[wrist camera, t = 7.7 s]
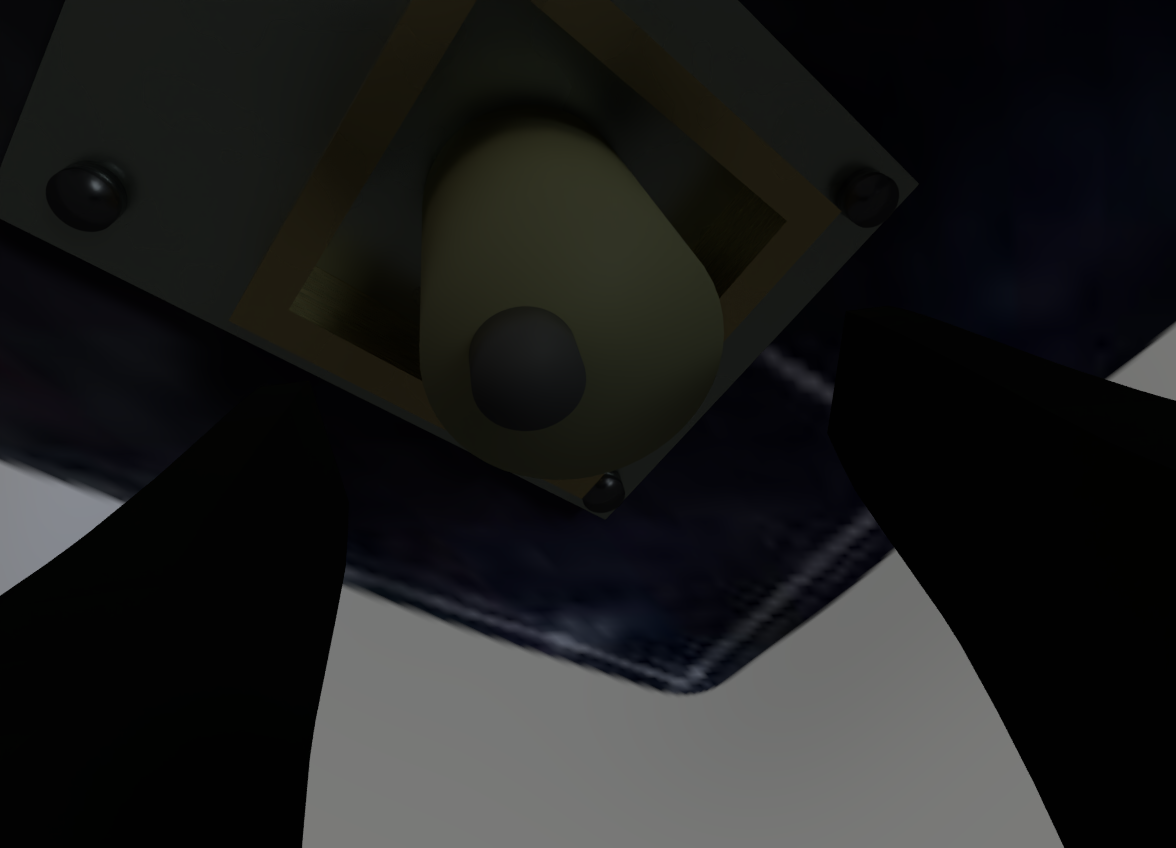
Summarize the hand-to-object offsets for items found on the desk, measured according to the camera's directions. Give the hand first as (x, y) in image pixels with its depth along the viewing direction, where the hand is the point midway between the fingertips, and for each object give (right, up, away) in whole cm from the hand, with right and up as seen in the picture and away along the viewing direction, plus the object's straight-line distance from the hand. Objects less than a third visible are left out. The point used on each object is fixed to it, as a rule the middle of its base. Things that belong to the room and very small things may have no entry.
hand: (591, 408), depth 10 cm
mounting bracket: (-2, +5, +7) cm, 9 cm away
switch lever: (-1, +4, +6) cm, 8 cm away
